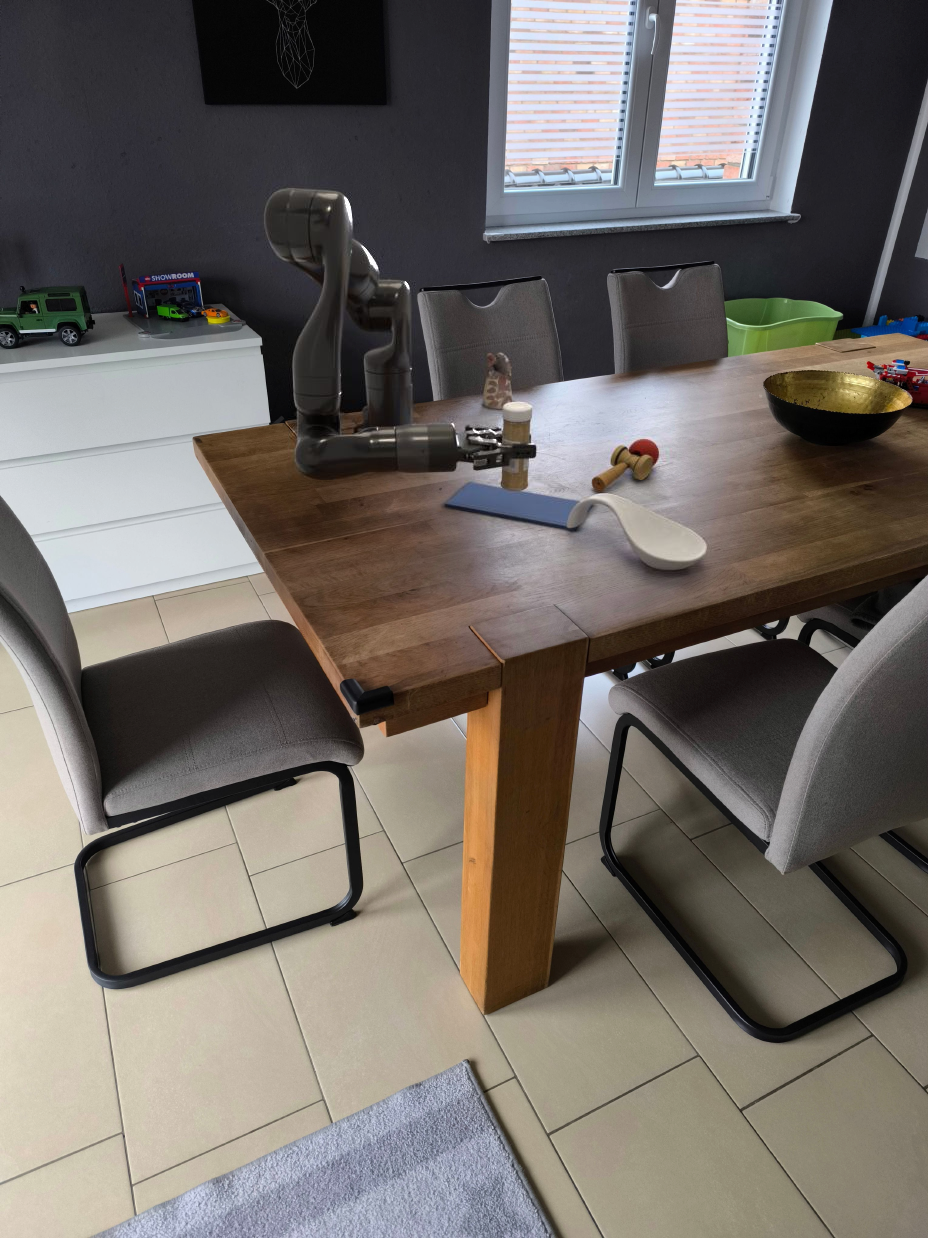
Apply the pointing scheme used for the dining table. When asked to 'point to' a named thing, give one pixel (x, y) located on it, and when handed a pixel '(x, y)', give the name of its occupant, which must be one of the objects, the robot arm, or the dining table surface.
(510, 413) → the spice jar
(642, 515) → the spoon rest
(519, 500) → the blue flat rectangular slab
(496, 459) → the robot arm
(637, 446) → the kendama
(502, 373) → the figurine
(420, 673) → the dining table surface
